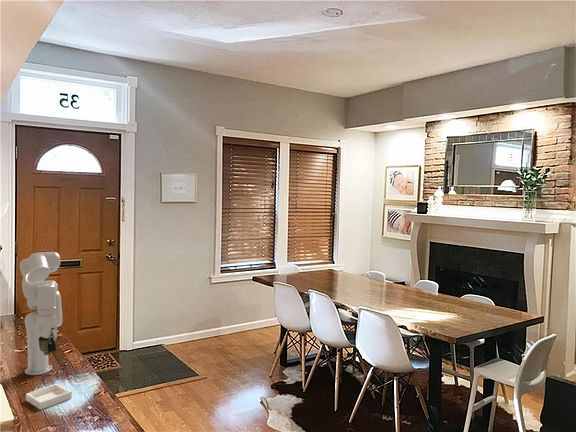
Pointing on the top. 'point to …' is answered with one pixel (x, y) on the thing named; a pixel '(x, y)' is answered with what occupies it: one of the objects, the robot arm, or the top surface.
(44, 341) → the ornate bronze bell
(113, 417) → the top surface
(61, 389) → the tray
